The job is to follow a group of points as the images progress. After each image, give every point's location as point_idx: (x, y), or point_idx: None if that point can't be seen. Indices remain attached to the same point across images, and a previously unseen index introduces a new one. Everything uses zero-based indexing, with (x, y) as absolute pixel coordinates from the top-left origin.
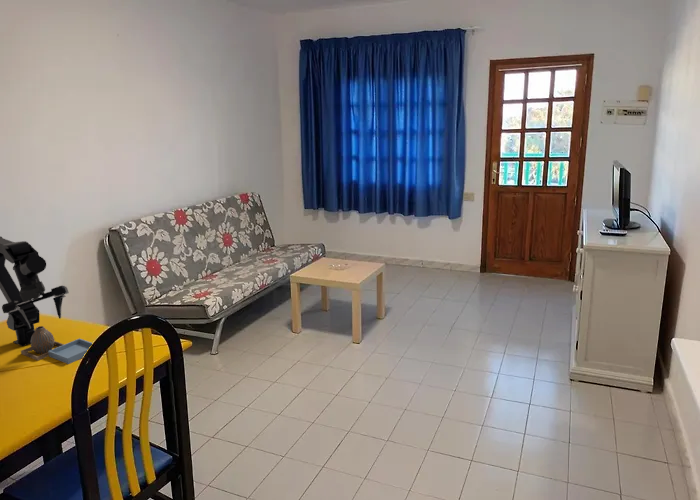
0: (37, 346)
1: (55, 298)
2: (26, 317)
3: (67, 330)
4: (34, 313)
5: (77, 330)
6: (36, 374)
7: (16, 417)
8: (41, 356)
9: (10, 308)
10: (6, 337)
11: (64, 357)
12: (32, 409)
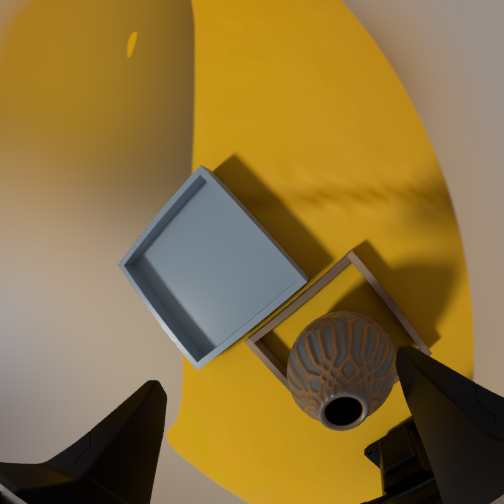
0: (358, 314)
1: (9, 478)
2: (430, 459)
3: (281, 480)
4: None
5: (247, 468)
6: (314, 114)
7: None
8: (336, 264)
9: None
10: None
11: (215, 179)
12: None
